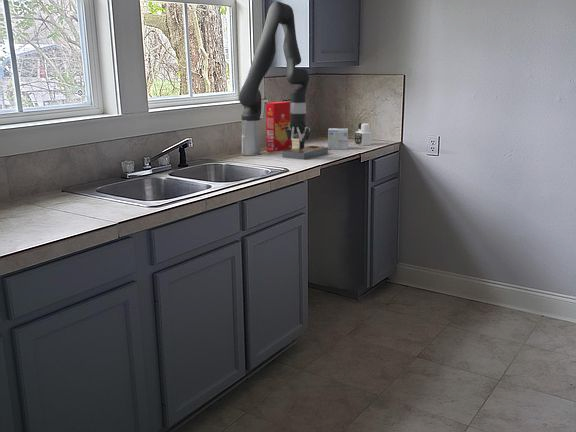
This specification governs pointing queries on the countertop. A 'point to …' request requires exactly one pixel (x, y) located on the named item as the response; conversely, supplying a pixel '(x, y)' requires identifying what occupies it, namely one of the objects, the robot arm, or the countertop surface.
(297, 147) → the peg
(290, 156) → the grey flat block
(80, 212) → the countertop surface
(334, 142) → the light bulb box
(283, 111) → the food packaging
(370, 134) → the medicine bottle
